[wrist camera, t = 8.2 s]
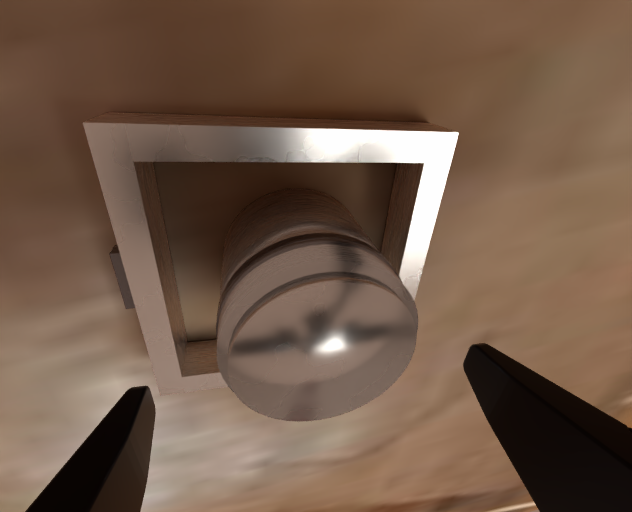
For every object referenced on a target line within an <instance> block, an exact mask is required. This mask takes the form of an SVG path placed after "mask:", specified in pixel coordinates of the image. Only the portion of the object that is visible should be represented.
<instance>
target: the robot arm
mask: <svg viewBox="0 0 632 512" xmlns="http://www.w3.org/2000/svg"><path fill="white" fill-rule="evenodd" d="M463 367H464V371H465V373H466V376H467V378H468V380H469V382H470V384H471V386H472V389H473V391H474V393H475V395H476V397H477V399H478V402H479V404H480V406H481V408H482V410H483V412H484V414H485V416H486V418H487V420H488V422H489V424H490V426H491V428H492V429H493V431H494V433H495V435H496V436H497V438H498V440H499V442H500V443H501V445H502V447H503V449H504V450H505V452H506V454H507V455H508V457H509V459H510V461H511V462H512V464H513V466H514V468H515V469H516V471H517V473H518V475H519V476H520V478H521V480H522V482H523V483H524V485H525V487H526V488H527V490H528V492H529V494H530V495H531V497H532V499H533V501H534V502H535V504H536V506H537V508H538V509H539V511H540V512H632V428H628V427H627V426H626V425H625V424H623V423H621V422H620V421H618V420H616V419H614V418H613V417H611V416H609V415H608V414H606V413H604V412H603V411H601V410H599V409H597V408H596V407H594V406H592V405H591V404H589V403H587V402H585V401H584V400H582V399H580V398H579V397H577V396H575V395H573V394H572V393H570V392H568V391H567V390H565V389H563V388H561V387H560V386H558V385H556V384H555V383H553V382H551V381H549V380H548V379H546V378H544V377H543V376H541V375H539V374H538V373H536V372H534V371H532V370H531V369H529V368H527V367H526V366H524V365H522V364H520V363H519V362H517V361H515V360H514V359H512V358H510V357H508V356H507V355H505V354H503V353H502V352H500V351H498V350H496V349H495V348H493V347H491V346H490V345H488V344H485V343H479V344H473V345H471V346H470V348H469V350H468V353H467V355H466V358H465V360H464V363H463ZM154 422H155V404H154V401H153V398H152V395H151V391H150V388H149V387H148V386H139V387H132V388H130V389H128V390H127V391H126V392H125V394H124V395H123V396H122V397H121V398H120V400H119V401H118V402H117V403H116V404H115V406H114V407H113V408H112V409H111V410H110V411H109V413H108V414H107V415H106V416H105V417H104V419H103V420H102V421H101V422H100V423H99V425H98V426H97V427H96V428H95V429H94V430H93V432H92V433H91V434H90V435H89V436H88V438H87V439H86V440H85V441H84V442H83V444H82V445H81V446H80V447H79V448H78V449H77V451H76V452H75V453H74V454H73V455H72V457H71V458H70V459H69V460H68V461H67V463H66V464H65V465H64V466H63V467H62V468H61V470H60V471H59V472H58V473H57V474H56V476H55V477H54V478H53V479H52V480H51V482H50V483H49V484H48V485H47V486H46V487H45V489H44V490H43V491H42V492H41V493H40V495H39V496H38V497H37V498H36V499H35V501H34V502H33V503H32V504H31V505H30V506H29V508H28V509H27V510H26V511H25V512H140V510H141V506H142V502H143V497H144V493H145V488H146V484H147V477H148V470H149V462H150V454H151V446H152V438H153V430H154Z"/></svg>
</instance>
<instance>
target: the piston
mask: <svg viewBox="0 0 632 512" xmlns="http://www.w3.org/2000/svg"><path fill="white" fill-rule="evenodd" d="M417 329H418V314H417V309H416V305H415V302H414V300H413V298H412V296H411V294H410V292H409V291H408V290H407V288H406V287H405V286H404V284H403V283H402V281H401V279H400V277H399V275H398V274H397V272H396V271H395V270H394V268H393V267H392V266H391V264H390V263H389V262H388V260H387V259H386V258H385V257H384V256H383V255H382V254H381V253H380V252H379V251H378V249H377V248H376V247H375V245H374V244H373V243H372V241H371V240H370V239H369V237H368V236H367V235H366V233H365V232H364V231H363V229H362V228H361V227H360V225H359V224H358V223H357V221H356V220H355V219H354V217H353V216H352V215H351V213H350V212H349V211H348V209H347V208H346V207H345V206H344V205H342V204H341V203H340V202H339V201H337V200H336V199H334V198H333V197H331V196H329V195H327V194H324V193H322V192H319V191H315V190H310V189H299V188H296V189H285V190H280V191H276V192H273V193H270V194H267V195H265V196H263V197H261V198H259V199H257V200H256V201H254V202H252V203H251V204H250V205H248V206H247V207H246V208H245V209H244V210H242V212H241V213H240V214H239V215H238V216H237V217H236V219H235V220H234V221H233V223H232V224H231V226H230V228H229V230H228V232H227V235H226V238H225V242H224V249H223V262H222V277H221V291H220V301H219V306H218V312H217V324H216V334H217V363H218V368H219V371H220V373H221V375H222V378H223V379H224V381H225V382H226V384H227V385H228V387H229V388H230V389H231V390H232V391H233V392H234V393H235V394H236V396H237V397H238V398H239V399H240V400H241V401H242V402H243V403H244V404H245V405H246V406H248V407H249V408H250V409H252V410H254V411H256V412H258V413H260V414H262V415H265V416H267V417H271V418H275V419H279V420H286V421H313V420H321V419H326V418H331V417H334V416H338V415H341V414H344V413H347V412H350V411H352V410H354V409H357V408H359V407H361V406H363V405H365V404H367V403H368V402H370V401H372V400H373V399H375V398H376V397H378V396H379V395H381V394H382V393H383V392H384V391H386V390H387V389H388V388H389V387H390V386H391V385H392V384H393V383H395V381H396V380H397V379H398V378H399V377H400V376H401V374H402V373H403V372H404V370H405V369H406V367H407V366H408V364H409V362H410V360H411V358H412V355H413V353H414V349H415V345H416V334H417Z"/></svg>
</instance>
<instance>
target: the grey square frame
mask: <svg viewBox="0 0 632 512" xmlns="http://www.w3.org/2000/svg"><path fill="white" fill-rule="evenodd" d="M83 126H84V129H85V133H86V136H87V140H88V143H89V147H90V150H91V154H92V157H93V161H94V164H95V168H96V171H97V175H98V178H99V182H100V185H101V189H102V192H103V196H104V199H105V203H106V207H107V210H108V214H109V217H110V221H111V224H112V228H113V231H114V235H115V238H116V242H117V245H115V246H114V247H113V249H112V251H111V252H110V257H111V261H112V264H113V267H114V270H115V274H116V277H117V280H118V284H119V287H120V290H121V293H122V297H123V300H124V303H125V307H126V309H129V308H136V312H137V315H138V319H139V322H140V326H141V329H142V333H143V336H144V340H145V343H146V347H147V350H148V354H149V357H150V361H151V364H152V368H153V371H154V375H155V378H156V382H157V385H158V389H159V392H160V396H163V395H170V394H178V393H185V392H193V391H200V390H208V389H215V388H223V387H228V385H227V384H226V382H225V381H224V379H223V378H222V375H221V373H220V371H219V368H218V363H217V340H207V341H197V342H188V341H187V336H186V331H185V326H184V321H183V316H182V311H181V305H180V300H179V295H178V290H177V285H176V280H175V275H174V269H173V264H172V259H171V254H170V249H169V244H168V239H167V234H166V228H165V223H164V218H163V213H162V208H161V203H160V198H159V192H158V187H157V182H156V177H155V172H154V167H153V162H343V163H397V166H396V172H395V177H394V183H393V188H392V193H391V199H390V204H389V210H388V215H387V221H386V226H385V232H384V237H383V243H382V248H381V254H382V255H383V256H384V257H385V258H386V259H387V260H388V262H389V263H390V264H391V266H392V267H393V268H394V270H395V271H396V272H397V274H398V275H399V277H400V279H401V281H402V283H403V284H404V286H405V287H406V288H407V290H408V291H409V292H410V294H411V296H412V298H413V300H415V296H416V292H417V288H418V285H419V281H420V277H421V273H422V270H423V266H424V262H425V258H426V255H427V251H428V247H429V243H430V240H431V236H432V232H433V228H434V224H435V221H436V217H437V213H438V209H439V206H440V202H441V198H442V194H443V191H444V187H445V183H446V179H447V176H448V172H449V168H450V164H451V161H452V157H453V153H454V149H455V146H456V142H457V138H458V134H459V132H456V131H453V130H450V129H447V128H444V127H441V126H438V125H435V124H432V123H426V122H396V121H365V120H335V119H304V118H274V117H243V116H213V115H183V114H152V113H122V112H107V113H105V114H102V115H100V116H97V117H95V118H92V119H90V120H87V121H85V122H83Z"/></svg>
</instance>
